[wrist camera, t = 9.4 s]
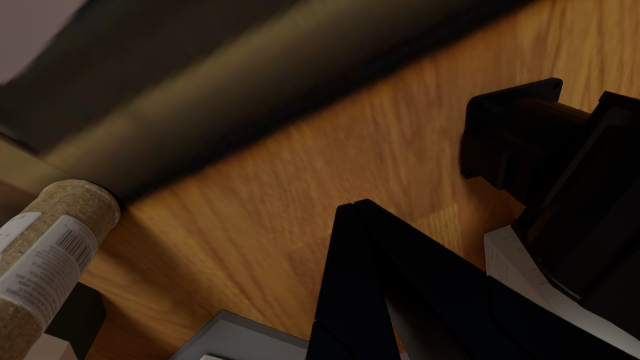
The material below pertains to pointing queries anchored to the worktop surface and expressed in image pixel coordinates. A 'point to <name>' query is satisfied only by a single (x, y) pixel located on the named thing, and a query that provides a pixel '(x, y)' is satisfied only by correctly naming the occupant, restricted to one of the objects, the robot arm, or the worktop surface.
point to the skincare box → (545, 288)
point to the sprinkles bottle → (48, 258)
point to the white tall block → (209, 358)
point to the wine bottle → (71, 327)
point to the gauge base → (241, 341)
